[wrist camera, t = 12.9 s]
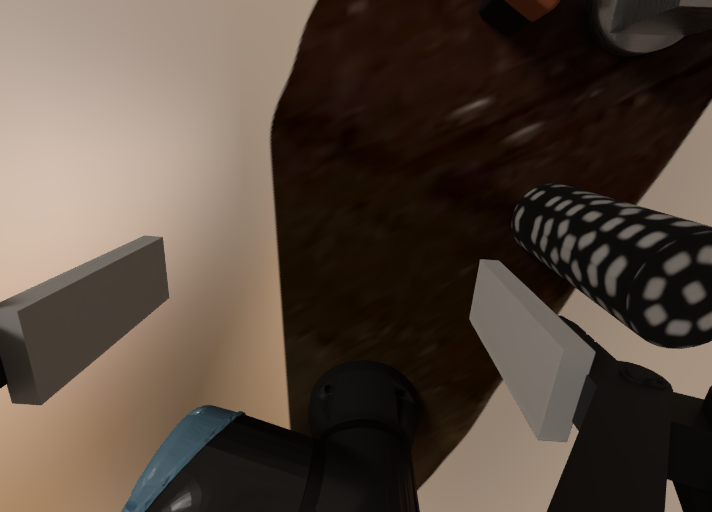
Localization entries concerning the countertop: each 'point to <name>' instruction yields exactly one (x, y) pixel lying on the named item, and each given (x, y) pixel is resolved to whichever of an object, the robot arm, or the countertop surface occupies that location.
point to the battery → (515, 13)
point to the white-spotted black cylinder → (624, 260)
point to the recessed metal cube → (662, 17)
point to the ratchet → (625, 45)
